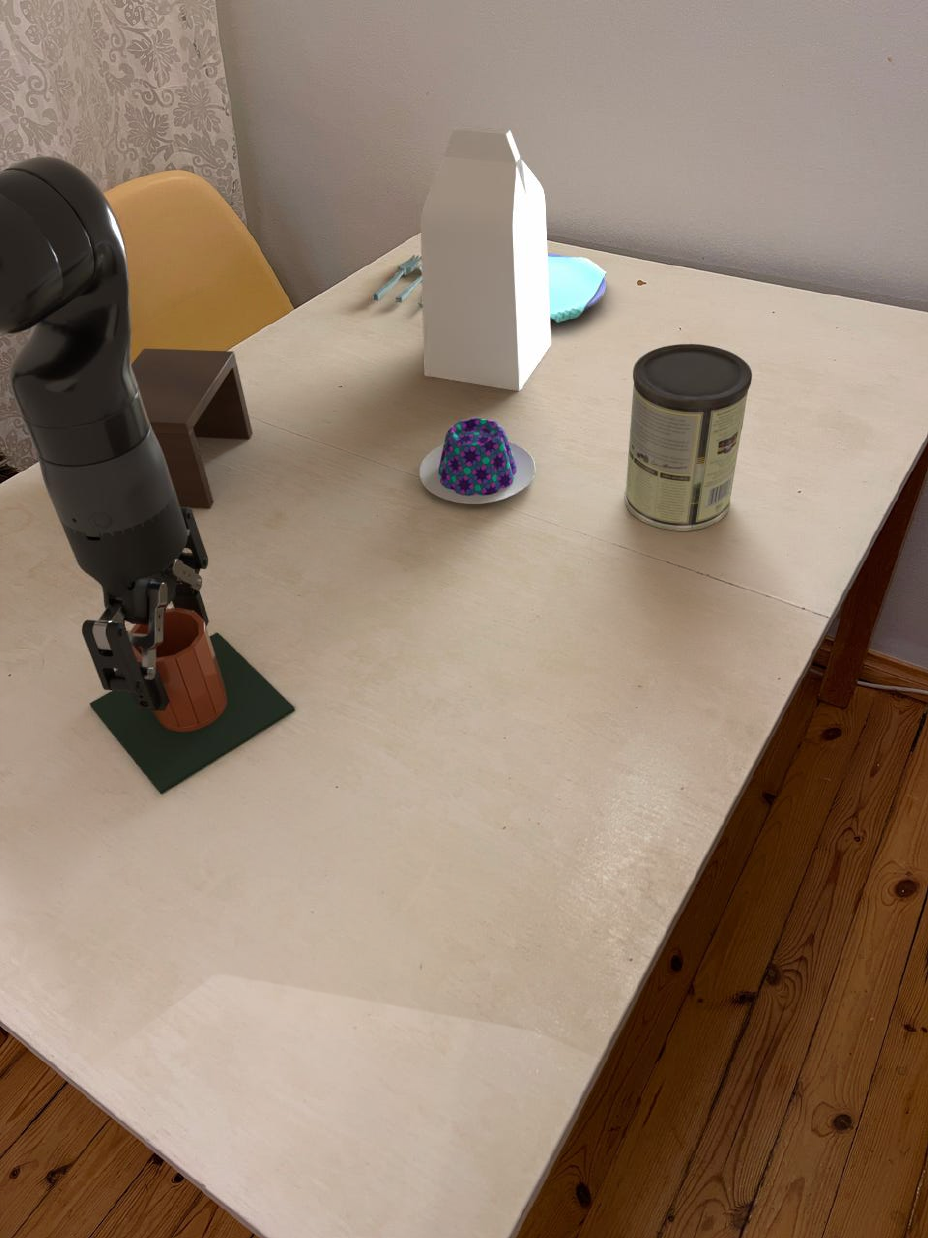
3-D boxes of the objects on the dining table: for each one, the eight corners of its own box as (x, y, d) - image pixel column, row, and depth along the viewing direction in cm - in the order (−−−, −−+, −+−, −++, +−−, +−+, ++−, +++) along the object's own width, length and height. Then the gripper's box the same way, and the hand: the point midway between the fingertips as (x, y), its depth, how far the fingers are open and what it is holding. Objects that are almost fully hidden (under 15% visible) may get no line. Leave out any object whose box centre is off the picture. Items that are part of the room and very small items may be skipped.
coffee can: (641, 461, 100) (652, 335, 90) (740, 482, 97) (764, 353, 87) (608, 518, 93) (617, 388, 84) (714, 542, 90) (736, 410, 80)
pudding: (434, 438, 105) (430, 396, 101) (543, 447, 103) (544, 403, 99) (406, 504, 96) (402, 460, 93) (525, 515, 94) (525, 470, 91)
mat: (161, 795, 72) (159, 791, 71) (90, 706, 78) (89, 703, 78) (295, 710, 77) (294, 707, 77) (218, 635, 84) (217, 631, 84)
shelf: (210, 509, 97) (185, 423, 91) (117, 503, 99) (86, 419, 92) (252, 433, 107) (234, 351, 101) (168, 429, 109) (144, 347, 102)
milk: (424, 375, 115) (405, 143, 97) (461, 331, 123) (449, 108, 105) (519, 391, 111) (517, 152, 94) (551, 344, 119) (554, 116, 101)
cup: (177, 744, 75) (149, 673, 69) (143, 704, 78) (113, 633, 72) (240, 706, 77) (218, 634, 72) (204, 668, 80) (180, 597, 75)
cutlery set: (582, 341, 119) (583, 324, 118) (363, 311, 128) (361, 294, 126) (622, 274, 132) (623, 258, 131) (422, 251, 141) (421, 235, 140)
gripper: (106, 431, 69) (164, 600, 80) (8, 559, 59) (91, 732, 70) (206, 436, 68) (251, 606, 79) (123, 568, 58) (189, 741, 69)
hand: (176, 665), depth 74 cm, fingers open, 8 cm apart
